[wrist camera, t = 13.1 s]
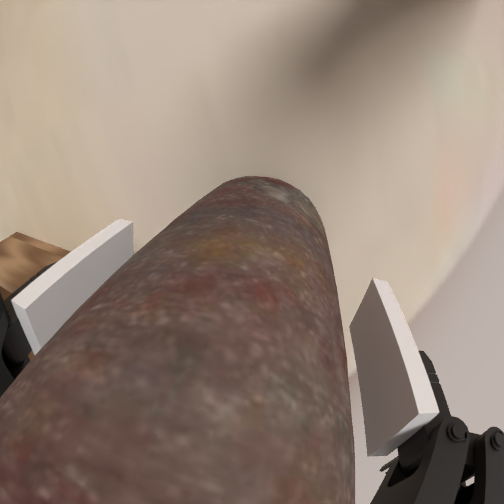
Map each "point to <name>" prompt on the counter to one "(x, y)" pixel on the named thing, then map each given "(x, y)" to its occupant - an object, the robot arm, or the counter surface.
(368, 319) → the robot arm
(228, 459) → the candle
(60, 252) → the box
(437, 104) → the counter surface
